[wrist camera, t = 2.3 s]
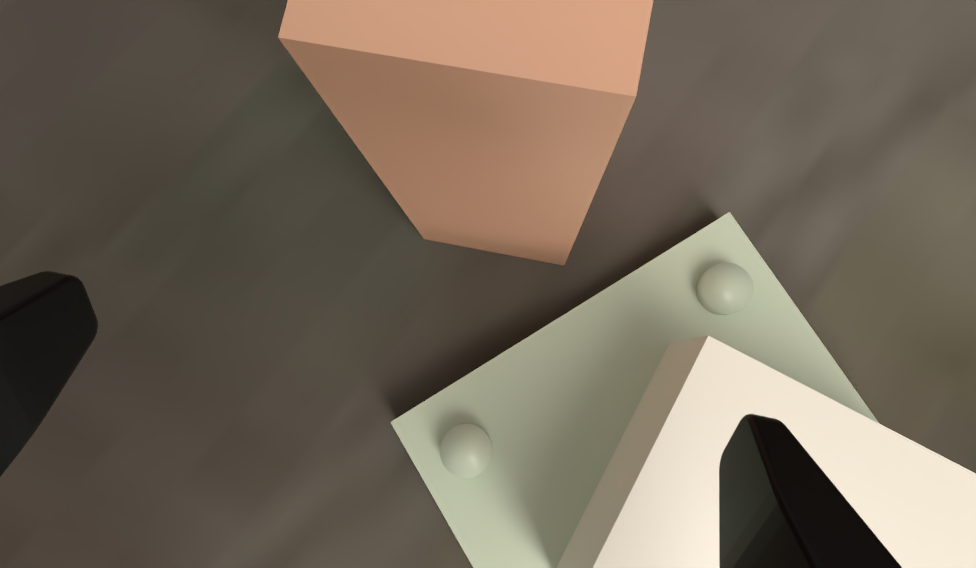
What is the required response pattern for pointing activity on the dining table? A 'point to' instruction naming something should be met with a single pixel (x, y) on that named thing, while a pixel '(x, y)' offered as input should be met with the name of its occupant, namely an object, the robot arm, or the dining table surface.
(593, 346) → the tower base
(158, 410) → the dining table surface
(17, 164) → the dining table surface
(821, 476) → the robot arm
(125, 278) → the dining table surface
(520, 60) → the column brick
